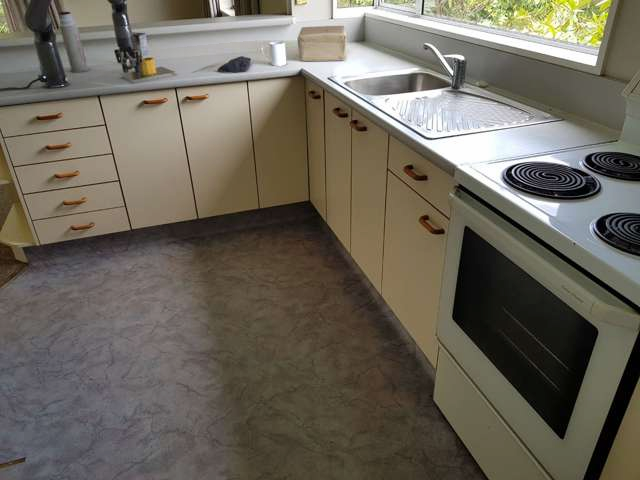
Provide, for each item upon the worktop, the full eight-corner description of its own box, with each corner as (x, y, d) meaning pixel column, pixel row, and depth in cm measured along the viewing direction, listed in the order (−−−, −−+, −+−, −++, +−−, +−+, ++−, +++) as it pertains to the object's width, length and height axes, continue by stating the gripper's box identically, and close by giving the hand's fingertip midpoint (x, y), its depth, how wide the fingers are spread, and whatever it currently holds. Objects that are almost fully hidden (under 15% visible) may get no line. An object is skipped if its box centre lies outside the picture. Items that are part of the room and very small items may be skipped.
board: (133, 83, 239) (132, 79, 238) (120, 77, 250) (119, 74, 249) (176, 75, 251) (175, 71, 250) (162, 69, 261) (161, 66, 261)
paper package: (301, 51, 291) (300, 25, 284) (346, 51, 290) (346, 24, 283) (297, 62, 268) (296, 34, 261) (346, 61, 267) (346, 33, 260)
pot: (146, 70, 254) (143, 56, 251) (159, 71, 251) (157, 57, 248) (122, 78, 241) (119, 64, 238) (136, 79, 238) (133, 65, 235)
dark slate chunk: (256, 62, 270) (255, 53, 267) (245, 72, 251) (245, 62, 249) (228, 62, 272) (227, 53, 269) (216, 72, 253) (214, 62, 251)
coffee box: (129, 66, 270) (123, 34, 261) (137, 63, 275) (130, 31, 267) (144, 67, 267) (138, 34, 259) (151, 64, 273) (145, 32, 264)
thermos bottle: (91, 68, 267) (76, 10, 252) (82, 72, 260) (66, 13, 246) (77, 68, 268) (62, 10, 254) (68, 72, 262) (52, 13, 247)
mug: (286, 62, 269) (285, 41, 263) (285, 65, 262) (283, 44, 257) (263, 62, 269) (262, 41, 264) (261, 66, 263) (259, 44, 257)
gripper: (106, 36, 231) (114, 73, 240) (130, 37, 226) (138, 76, 235) (117, 33, 237) (125, 70, 245) (142, 34, 232) (149, 72, 240)
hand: (132, 72), depth 240 cm, fingers open, 6 cm apart
